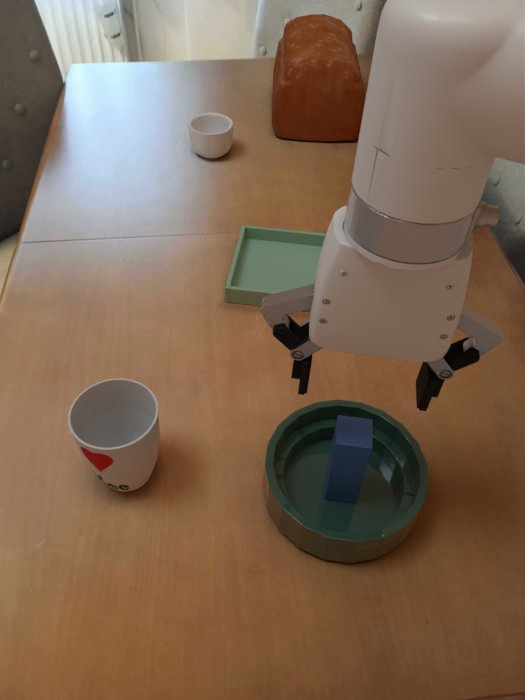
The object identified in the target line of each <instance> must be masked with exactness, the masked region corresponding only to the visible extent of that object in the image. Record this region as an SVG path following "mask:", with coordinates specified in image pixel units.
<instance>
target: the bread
mask: <svg viewBox="0 0 525 700" xmlns="http://www.w3.org/2000/svg"><path fill="white" fill-rule="evenodd" d="M359 61H360V60H359V57H358V52H357V47H356V43H354V42H353V32H352V30H351V28H350V27H349V26H348V25H347V23H345V22H344V20H342V19H340V18H337V17H335V16H331V15H328V14H326V13H318V14H317V13H316V14H314V13H313V14H306V15H301V16H300V15H299V16H296V17H294V18H293V19H291V20H289V21H288V22H286V23H285V25H284V28H283V34H282V38H281V39H280V40H278V43H277V49H276V53H275V59H274V64H273V71H272V89H271V90H272V91H271V92H272V93H271V125H272V126H271V127H272V130H273V132H274V135H275V136H277V137H279V138H281V139H290V140H297V141H305V142H306V141H307V142H346V141H347V142H348V141H355V140H356V139H358V138H359V133H360V128H361V122H362V116H363V110H364V104H365V99H366V88H365V83H364V79H363V76H362V72H361V65H360V62H359Z"/></svg>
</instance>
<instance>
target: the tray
mask: <svg viewBox="0 0 525 700" xmlns="http://www.w3.org/2000/svg"><path fill="white" fill-rule="evenodd" d="M240 227H241V228H240V231H239V234H238V237H237V238H238V239H237V243H236V244H235V245H236V246H235V248H234V249H235V250H234V252H233V258H232V261H231V264H230V268H229V272H228V276H227V279H226V283H225V287H224V301H225V303H231V304H239V305H240V304H241V305H248V306H257V307H262V302H263V298H264V297H265V296H268V295H272V294H276V293H280V292H283V291H287V290H291V289H295V288H299V287H303V286H307V285H311V284H314V281H315V276H316V271H317V267H318V262H319V258H320V253H321V250H322V246H323V242H324V239H325V236H326V233H323V232H316V231H315V232H314V231H306V230H305V231H304V230H297V229H296V230H295V229H286V228H278V227H268V226H260V225H259V226H257V225H250V224H242V225H241V226H240ZM302 312H309V313H310V312H311V309H308V310H303V311H302Z"/></svg>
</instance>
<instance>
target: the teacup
mask: <svg viewBox="0 0 525 700" xmlns="http://www.w3.org/2000/svg"><path fill="white" fill-rule="evenodd" d="M187 128H188V135H189V136H188V137H189V141H190V146H191V147H192V149H193V150H194V152H195V153H196V154H197V155H198V156H200V157H202V158H204V159H205V158H206V159H218V158H221V157H223V156H225V155H226V154H228V152H229V151H230V150H231V148H232V144H233V138H234V137H233V136H234V123H233V120H232V118H230V117H229V116H227V115H225V114H222V113H218V112H203V113H199V114H196V115H194V116H193V117H191V118H190V119H189V121H188V127H187Z"/></svg>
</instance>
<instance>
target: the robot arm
mask: <svg viewBox="0 0 525 700" xmlns="http://www.w3.org/2000/svg"><path fill="white" fill-rule="evenodd" d="M357 139H358V140H357V146H356V151H355V157H354V164H353V170H352V175H351V180H350V185H349V190H348V198H347V202H346V205H343V206H342V207H340V208H338V209H337V210H335V212H334V214H333V216H332V218H331V220H330V223H329V226H328V228H327V230H326V233H325V234H326V236H325V239H324V242H323V246H322V250H321V253H320V258H319V262H318V267H317V271H316V276H315V281H314V284H311V285H307V286H303V287H299V288H295V289H291V290H287V291H283V292H280V293H276V294H272V295H268V296H265V297H264V298H263V302H262V306H260V313H261V315H262V316H263V318H264V321H265V322H266V323H267V325H268V326H269V327H270V328H271V330H272V336H273V337H274V338H275V339H276V340H277V341H278V342H279V343H281V344H282V345H283V346H284V347H285V348H286V349H287V350H289V351H290V353H289V355H290V358H291V359H292V360H293V362H292V368H291V377H290V378H291V379H294V380H299V382H298V390H297V395H301V396H305V394H306V395H307V394H308V387H309V381H310V377H311V369H312V363H313V355H314V354H315V353H317V352H319V351H320V350H322V349H325V350H329V351H333V352H339V353H346V354H352V355H353V354H354V355H359V356H368V357H374V358H382V359H391V360H398V361H406V362H407V361H408V362H419V363H421V366H420V369H419V372H418V374H417V377H416V380H415V397H416V398H415V399H416V409H418V410H419V411H421V412H427V411H428V408H429V405H430V403H431V401H432V399H433V398H438V397H439V395H440V392H441V390H442V388H443V385H444V383H445V381H447V380H450V379H452V378H453V377H454V376H455V372H456V371H458V370H462V369H464V368H466V367H469V366H470V365H471V366H472V365H474V364H476V363H478V362H479V361H480V359H481V356H483V355H486V354H487V353H489V352H490V351H492V350H493V349H494V348H496V347H497V346H498V345H501V343H502V342H503V336H502V330H501V326H500V325H499V324H498V323H497V322H495V321H493V320H491V319H489V318H488V317H486V316H484V315H482V314H481V313H479V312H477V311H476V310H474V309H473V308H471V307H469V306H467V305H466V304H464V302H465V298H466V294H467V290H468V286H469V282H470V281H469V280H470V275H471V269H472V263H473V254H474V253H473V252H474V233H475V231H476V230H477V229H479V230H481V229H483V228H491V229H495V228H496V227H497V225H498V222H499V220H500V213H501V211H500V210H501V208H500V205H495V204H488V202H487V201H483V200H482V196H483V193H484V190H485V187H486V185H487V182H488V180H489V177H490V174H491V172H492V168H493V166H494V163H495V160H496V159H502V160H506V161H510V162H513V163H517V164H521V165H525V0H386V1H385V2H384V6H383V8H382V10H381V13H380V18H379V21H378V26H377V29H376V36H375V42H374V48H373V52H372V59H371V65H370V70H369V77H368V82H367V87H366V92H365V104H364V110H363V116H362V122H361V128H360V133H359V136H358V138H357ZM308 309H311V312H309V317H307V318H305V319H304V320H302V321H301V322H300V323H298V322H296V321H295V320H294V319H293V318H292V317H291V316H290V315H291V314H295V313H299V312H304V311H303V310H308ZM457 330H459V331H461V332H462V333H465V334H466V335H468V337H464V338H462V339H460V340H457V341H455V342H453V340H454V338H455V335H456V332H457Z"/></svg>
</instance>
